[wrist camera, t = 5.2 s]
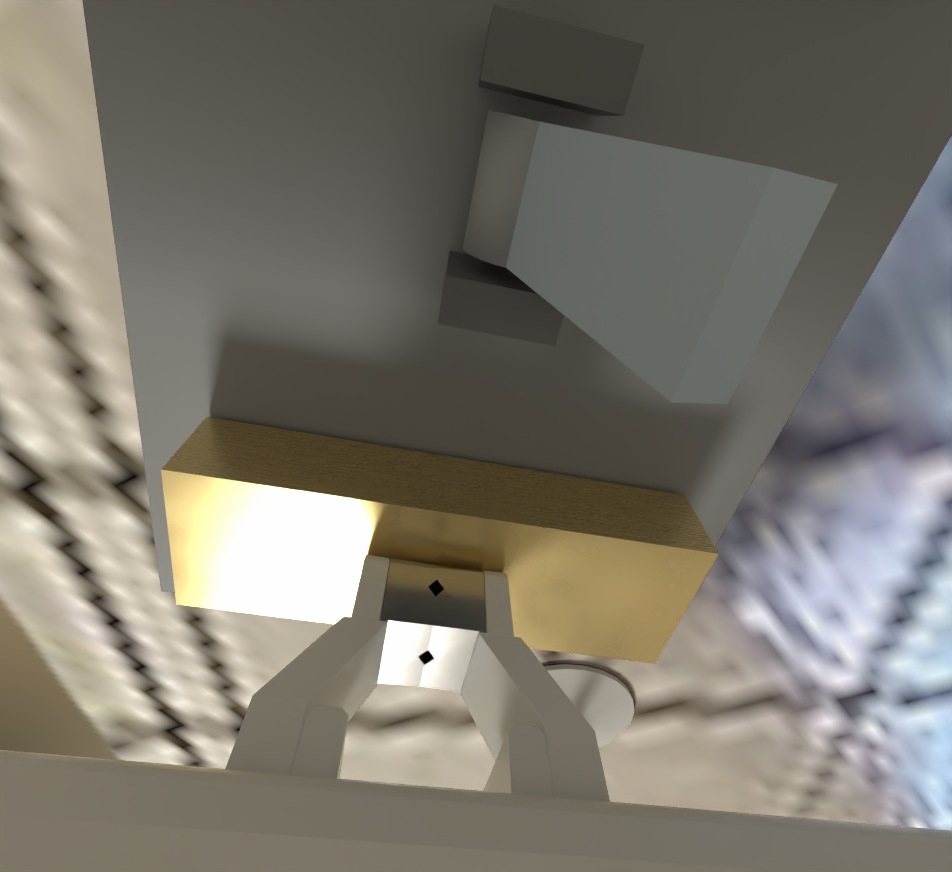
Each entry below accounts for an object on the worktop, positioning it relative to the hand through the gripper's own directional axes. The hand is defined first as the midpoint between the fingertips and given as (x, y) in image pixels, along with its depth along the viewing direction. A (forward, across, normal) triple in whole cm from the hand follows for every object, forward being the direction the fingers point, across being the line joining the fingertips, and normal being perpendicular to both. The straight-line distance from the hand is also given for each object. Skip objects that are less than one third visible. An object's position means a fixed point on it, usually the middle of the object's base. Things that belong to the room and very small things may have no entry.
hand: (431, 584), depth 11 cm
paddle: (+1, 0, -8) cm, 8 cm away
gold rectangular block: (+2, 0, 0) cm, 2 cm away
